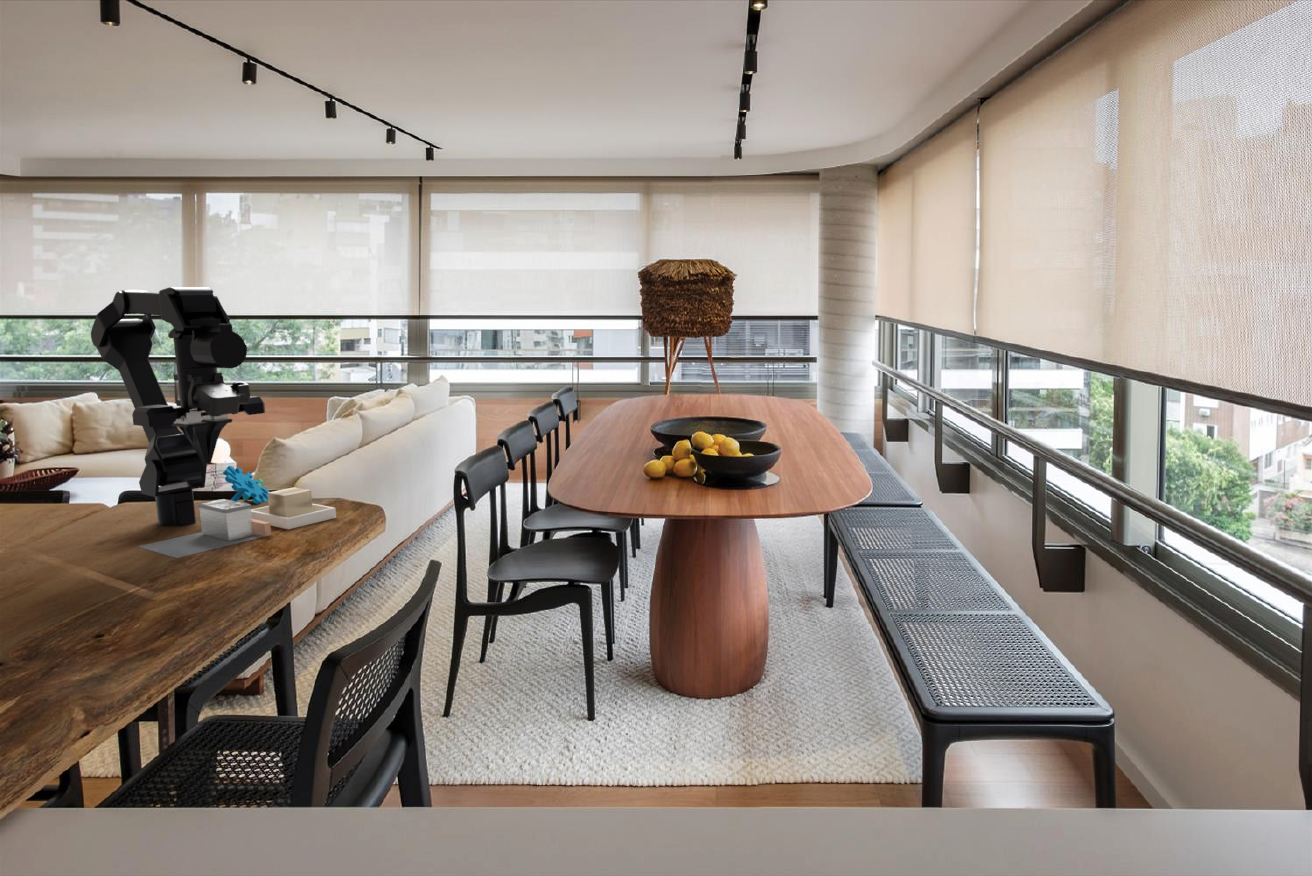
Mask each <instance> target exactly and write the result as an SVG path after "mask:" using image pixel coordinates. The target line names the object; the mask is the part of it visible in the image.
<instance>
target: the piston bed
mask: <svg viewBox="0 0 1312 876" xmlns="http://www.w3.org/2000/svg"><path fill="white" fill-rule="evenodd" d="M252 528H253V535H252V536H248V537H244V538H240V539H236V540H231V541H227V540H223V539H219V538H215V537H211V536H207V535H203V534H202V531H201V532H196V533H191V534H188V535H187V534H186V535H184V536H178V537H174V538H169V539H166V540H165V539H164V540H160V541H156V542H151V543H146V544H143V545H138V546H137V548H140V549H144V550H147V551H151V552H153V553H157V554H161V555H165V556H168V557H170V558H171V557H172V558H175V559H179V558H183V557H184V558H185V557H188V556H191V555H196V554H199V553H200V554H201V553H203V552H207V551H208V552H209V551H212V550H216V549H220V548H223V547H228V546H232V545H236V544H242V543H245V542H248V541H252V540H259V539H262V538H266V537H270V536H272V528H271V525H270V522H265V521H260V520H256V519H252Z"/></svg>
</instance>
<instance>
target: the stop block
mask: <svg viewBox="0 0 1312 876" xmlns="http://www.w3.org/2000/svg"><path fill="white" fill-rule="evenodd" d="M267 500H268V501H267V502H268V506H269V514H272V515H277V516H282V517H286V518H290V517H295V516H299V515H303V514H307V513H312V512H313V507H312V504H313V498H312V490H311V489H306V488H300V487H296V486H294V487H290V488H288V487H287V488H284V489H279V490H275V491H269V492H268V499H267Z"/></svg>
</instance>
